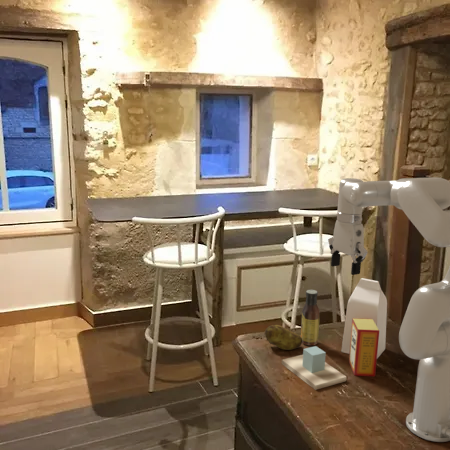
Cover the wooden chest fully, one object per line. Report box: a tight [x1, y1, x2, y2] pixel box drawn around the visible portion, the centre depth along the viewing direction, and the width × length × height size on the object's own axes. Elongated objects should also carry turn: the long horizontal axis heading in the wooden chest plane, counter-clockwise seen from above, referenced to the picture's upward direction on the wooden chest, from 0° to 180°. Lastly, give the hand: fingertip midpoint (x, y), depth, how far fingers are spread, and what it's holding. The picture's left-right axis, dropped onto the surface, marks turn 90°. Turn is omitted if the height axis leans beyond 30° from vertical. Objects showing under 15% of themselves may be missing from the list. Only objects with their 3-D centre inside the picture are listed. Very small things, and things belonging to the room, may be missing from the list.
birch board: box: [281, 354, 347, 391], centre depth 166 cm, size 18×12×2 cm, turn 28°
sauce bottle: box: [300, 289, 320, 347], centre depth 185 cm, size 6×6×20 cm
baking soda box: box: [348, 318, 379, 377], centre depth 167 cm, size 10×6×16 cm
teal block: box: [302, 345, 327, 373], centre depth 165 cm, size 5×5×6 cm
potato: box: [264, 324, 303, 351], centre depth 182 cm, size 8×13×8 cm, turn 71°
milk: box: [340, 277, 388, 359], centre depth 179 cm, size 12×12×26 cm
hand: (345, 269), depth 166 cm, fingers open, 9 cm apart
